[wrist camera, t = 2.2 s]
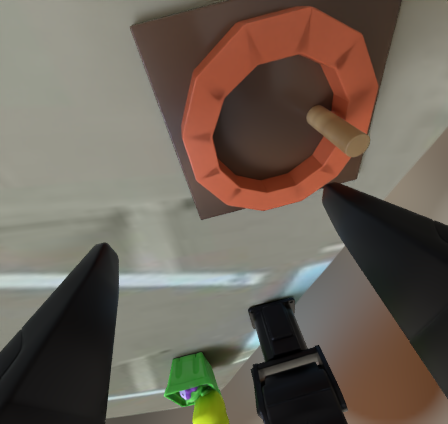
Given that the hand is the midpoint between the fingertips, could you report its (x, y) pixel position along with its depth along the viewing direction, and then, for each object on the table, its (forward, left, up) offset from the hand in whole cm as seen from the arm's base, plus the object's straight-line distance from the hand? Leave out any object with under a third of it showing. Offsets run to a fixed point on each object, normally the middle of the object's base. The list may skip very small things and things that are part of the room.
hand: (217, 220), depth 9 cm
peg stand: (0, -5, -7) cm, 9 cm away
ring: (0, -5, -7) cm, 8 cm away
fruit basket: (-41, +12, -8) cm, 43 cm away
